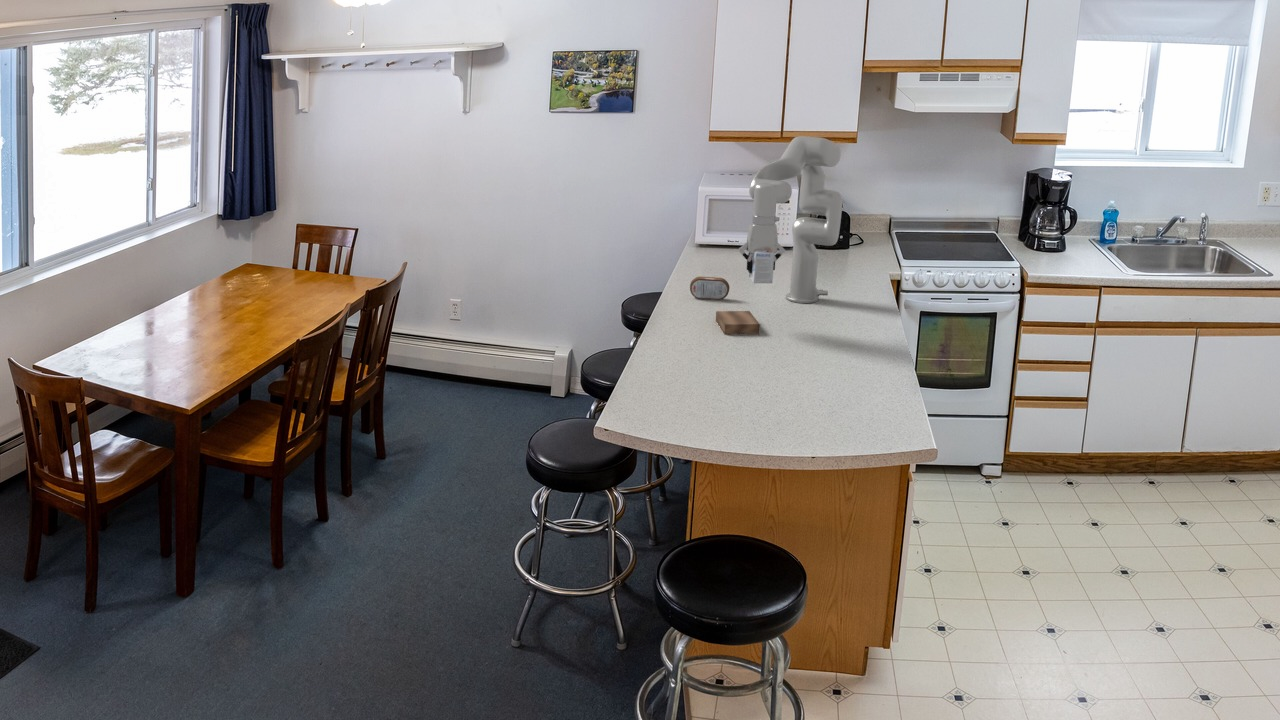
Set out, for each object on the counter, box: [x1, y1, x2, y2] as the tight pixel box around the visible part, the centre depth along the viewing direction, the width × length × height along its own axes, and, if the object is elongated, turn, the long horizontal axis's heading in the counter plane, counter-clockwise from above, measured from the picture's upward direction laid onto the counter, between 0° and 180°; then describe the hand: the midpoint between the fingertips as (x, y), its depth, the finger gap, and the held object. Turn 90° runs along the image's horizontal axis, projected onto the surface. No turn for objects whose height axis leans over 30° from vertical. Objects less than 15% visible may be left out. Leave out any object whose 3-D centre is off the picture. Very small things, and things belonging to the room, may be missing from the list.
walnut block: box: [715, 310, 761, 335], centre depth 359 cm, size 12×16×4 cm
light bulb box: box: [747, 250, 776, 284], centre depth 353 cm, size 11×7×11 cm, turn 6°
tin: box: [689, 276, 730, 301], centre depth 393 cm, size 15×3×8 cm, turn 84°
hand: (760, 271), depth 354 cm, fingers closed on light bulb box, 6 cm apart
